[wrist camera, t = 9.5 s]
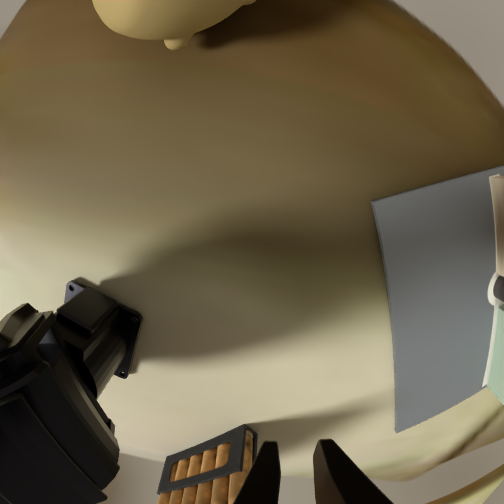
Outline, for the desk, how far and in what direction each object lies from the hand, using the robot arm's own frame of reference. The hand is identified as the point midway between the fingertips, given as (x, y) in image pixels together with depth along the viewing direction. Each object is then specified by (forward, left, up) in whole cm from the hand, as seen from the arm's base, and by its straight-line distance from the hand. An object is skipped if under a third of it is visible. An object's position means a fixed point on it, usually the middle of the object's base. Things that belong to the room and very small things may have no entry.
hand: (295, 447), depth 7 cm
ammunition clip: (-17, -1, -12) cm, 21 cm away
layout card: (+4, -15, -12) cm, 20 cm away
